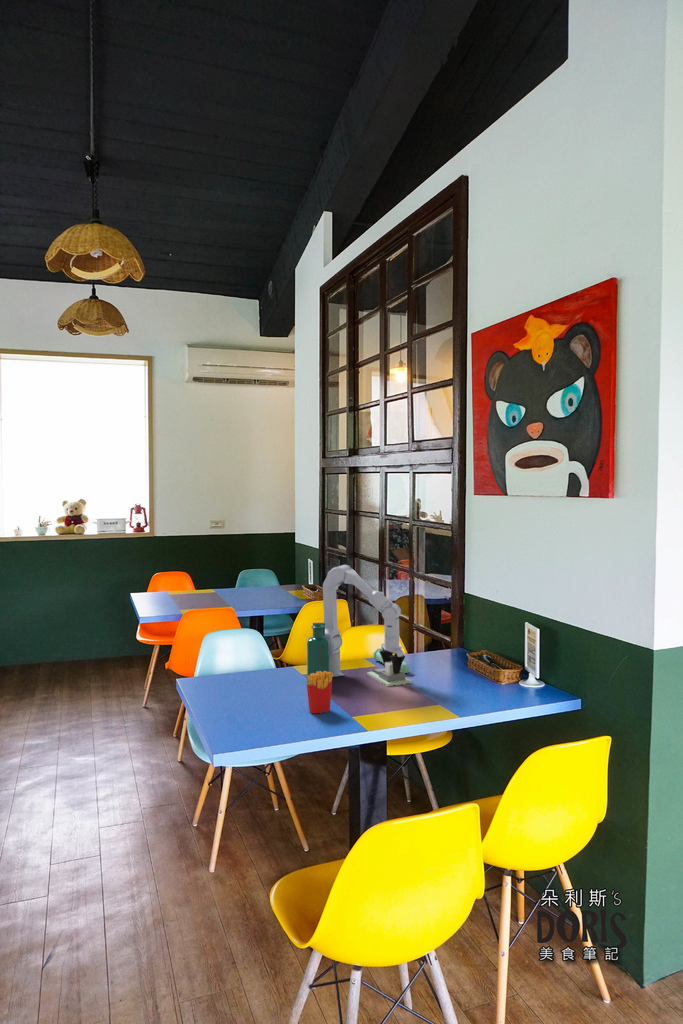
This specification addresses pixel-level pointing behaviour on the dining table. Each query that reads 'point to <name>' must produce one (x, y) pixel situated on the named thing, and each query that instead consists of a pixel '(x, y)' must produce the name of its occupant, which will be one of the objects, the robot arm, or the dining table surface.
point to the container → (403, 667)
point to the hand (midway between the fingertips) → (392, 671)
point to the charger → (389, 668)
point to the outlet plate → (388, 677)
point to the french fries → (319, 691)
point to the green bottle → (318, 650)
